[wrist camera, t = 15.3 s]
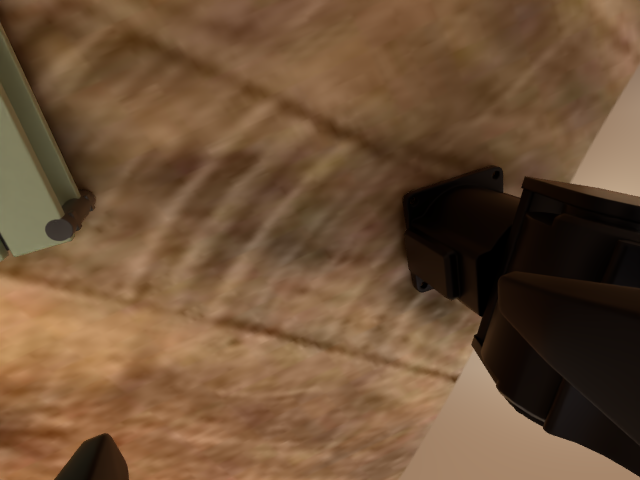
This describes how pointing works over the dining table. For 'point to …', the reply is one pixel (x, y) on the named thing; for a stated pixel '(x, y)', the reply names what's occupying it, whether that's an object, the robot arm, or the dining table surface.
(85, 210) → the rack
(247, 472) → the dining table surface
